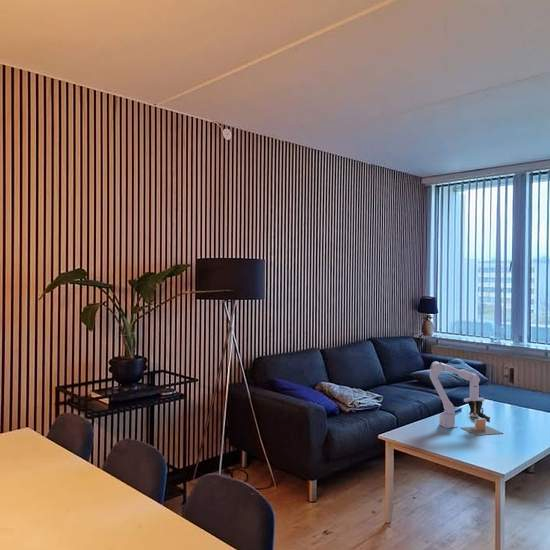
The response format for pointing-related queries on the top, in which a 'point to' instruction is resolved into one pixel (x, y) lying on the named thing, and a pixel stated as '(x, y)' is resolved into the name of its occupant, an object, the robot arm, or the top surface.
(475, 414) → the tamper
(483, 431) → the mat
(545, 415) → the top surface
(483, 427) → the tile
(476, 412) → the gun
